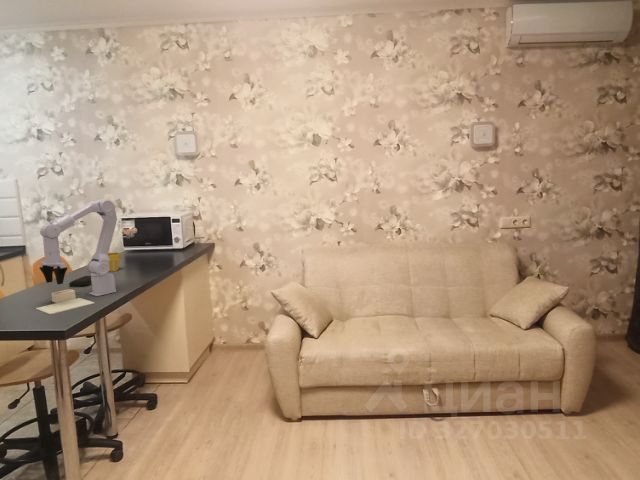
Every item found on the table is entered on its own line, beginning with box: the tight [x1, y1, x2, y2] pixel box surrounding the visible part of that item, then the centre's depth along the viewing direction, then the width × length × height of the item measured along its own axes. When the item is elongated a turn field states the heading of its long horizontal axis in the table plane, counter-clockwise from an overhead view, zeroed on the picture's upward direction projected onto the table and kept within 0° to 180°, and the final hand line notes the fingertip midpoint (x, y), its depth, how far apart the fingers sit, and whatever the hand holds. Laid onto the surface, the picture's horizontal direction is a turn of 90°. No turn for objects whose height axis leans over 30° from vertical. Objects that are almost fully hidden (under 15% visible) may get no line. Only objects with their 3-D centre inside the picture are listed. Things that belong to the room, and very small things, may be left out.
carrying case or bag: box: [68, 275, 92, 288], centre depth 238 cm, size 11×3×15 cm
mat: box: [35, 297, 95, 316], centre depth 198 cm, size 18×14×1 cm
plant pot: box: [108, 251, 122, 273], centre depth 267 cm, size 10×10×10 cm
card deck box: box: [51, 288, 77, 304], centre depth 208 cm, size 8×5×4 cm, turn 140°
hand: (54, 283), depth 201 cm, fingers open, 7 cm apart
